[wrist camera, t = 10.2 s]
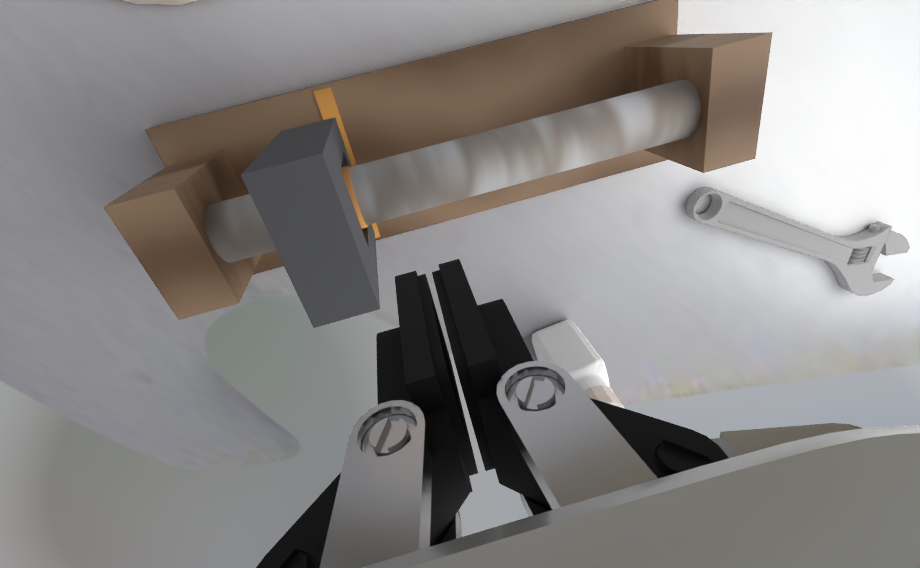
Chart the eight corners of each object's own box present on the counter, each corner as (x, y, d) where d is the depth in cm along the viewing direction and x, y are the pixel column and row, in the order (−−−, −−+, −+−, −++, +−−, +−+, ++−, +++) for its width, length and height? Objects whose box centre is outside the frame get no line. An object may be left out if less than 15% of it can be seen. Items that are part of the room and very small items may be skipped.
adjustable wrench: (673, 212, 36) (687, 219, 34) (722, 135, 33) (739, 139, 32) (856, 294, 44) (874, 302, 43) (905, 237, 42) (926, 244, 40)
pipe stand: (152, 127, 25) (59, 164, 18) (668, -3, 27) (789, -21, 20) (233, 274, 30) (189, 353, 23) (663, 155, 32) (758, 190, 25)
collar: (280, 131, 24) (240, 175, 16) (335, 117, 24) (322, 153, 16) (327, 246, 27) (313, 327, 19) (374, 233, 27) (379, 308, 20)
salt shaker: (571, 314, 38) (628, 389, 30) (578, 348, 40) (634, 427, 32) (527, 331, 38) (573, 411, 30) (537, 364, 40) (583, 447, 32)
